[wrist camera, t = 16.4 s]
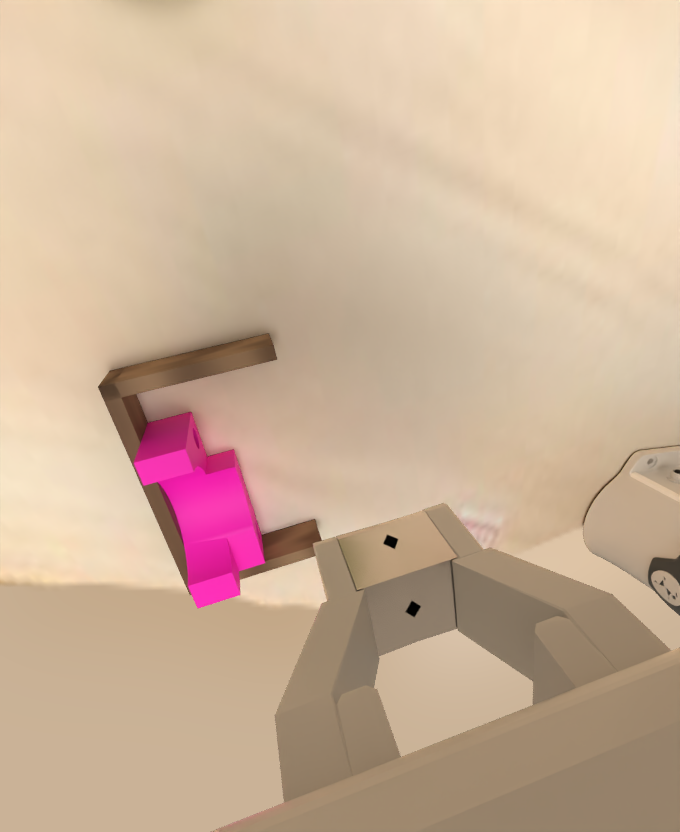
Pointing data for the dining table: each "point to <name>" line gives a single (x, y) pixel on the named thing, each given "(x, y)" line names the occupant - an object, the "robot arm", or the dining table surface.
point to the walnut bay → (132, 423)
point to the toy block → (203, 506)
